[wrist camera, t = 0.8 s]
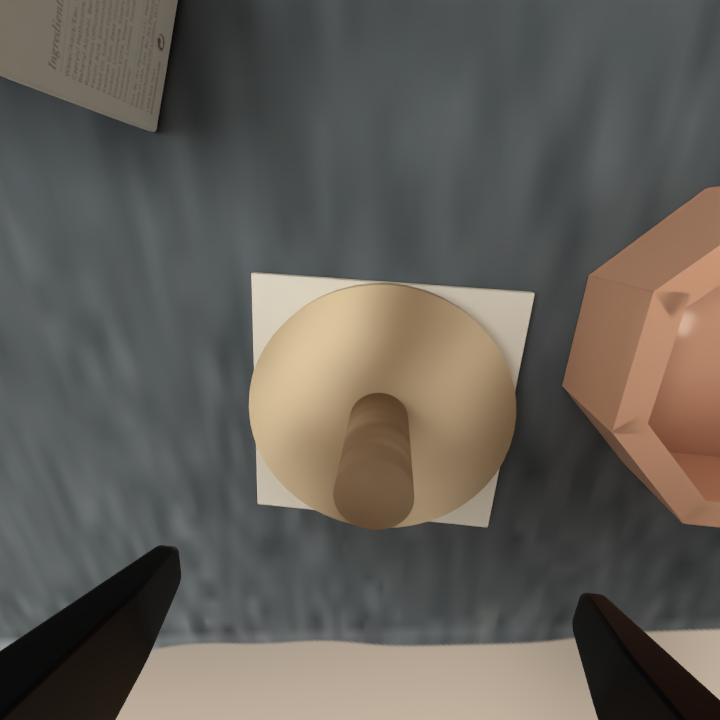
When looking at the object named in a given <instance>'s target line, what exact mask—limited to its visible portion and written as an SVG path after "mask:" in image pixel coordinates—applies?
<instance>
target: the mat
mask: <svg viewBox="0 0 720 720" xmlns="http://www.w3.org/2000/svg"><path fill="white" fill-rule="evenodd" d="M251 278H252V315H253V352H254V370H255V367H256V364H257V361H258V359H259V357H260V355H261V353H262V351H263V349H264V348H265V346H266V344H267V343H268V342H269V340H270V339H271V337H272V336H273V335H274V333H275V332H276V331H277V330H278V329H279V328H280V327H281V326H282V325H283V324H284V323H285V322H286V321H287V320H288V319H289V318H290V317H291V316H292V315H294V314H295V313H296V312H297V311H299V310H300V309H301V308H302V307H304V306H305V305H307V304H308V303H310V302H312V301H313V300H315V299H317V298H319V297H321V296H323V295H325V294H328V293H330V292H333V291H335V290H338V289H342V288H346V287H349V286H353V285H360V284H368V283H393V284H401V285H408V286H412V287H416V288H419V289H423V290H426V291H429V292H431V293H434V294H436V295H438V296H441V297H443V298H445V299H446V300H448V301H450V302H451V303H453V304H455V305H457V306H458V307H460V308H461V309H462V310H463V311H465V312H466V313H467V314H468V315H470V316H471V317H472V318H473V319H474V320H475V321H476V322H477V323H478V324H479V325H480V326H481V327H482V328H483V329H484V330H485V331H486V333H487V334H488V335H489V336H490V337H491V339H492V340H493V342H494V343H495V345H496V346H497V347H498V349H499V350H500V352H501V354H502V356H503V358H504V360H505V362H506V364H507V366H508V369H509V372H510V375H511V378H512V381H513V385H514V391H515V389H516V384H517V379H518V374H519V369H520V364H521V359H522V355H523V350H524V345H525V340H526V335H527V330H528V325H529V320H530V315H531V310H532V305H533V300H534V295H535V293H533V292H528V291H514V290H500V289H485V288H471V287H457V286H443V285H429V284H415V283H401V282H387V281H373V280H359V279H345V278H331V277H317V276H303V275H288V274H274V273H260V272H253V273H251ZM256 463H257V501H258V504H263V505H273V506H283V507H293V508H302V509H312V508H311V507H309V506H308V505H306V504H305V503H303V502H302V501H300V500H299V499H297V498H296V497H295V496H294V495H293V494H292V493H290V492H289V491H288V490H287V489H286V488H285V487H284V486H283V485H282V484H281V483H280V482H279V481H278V480H277V478H276V477H275V476H274V475H273V473H272V472H271V470H270V469H269V468H268V466H267V465H266V463H265V461H264V459H263V457H262V456H261V454H260V452H259V449H258V447H257V444H256ZM499 469H500V468H499ZM499 469H498V471H497V472H496V474H495V475H494V477H493V478H492V479H491V480H490V481H489V483H488V484H487V485H486V486H485V487H484V488H483V489H482V490H481V491H480V492H479V493H478V494H477V495H476V496H475V497H473V498H472V499H471V500H469V501H468V502H467V503H465V504H464V505H462V506H461V507H459V508H457V509H456V510H454V511H452V512H450V513H448V514H446V515H444V516H441V517H439V518H437V519H434V520H431V521H429V522H439V523H449V524H459V525H468V526H478V527H488V523H489V518H490V513H491V509H492V504H493V499H494V494H495V489H496V484H497V479H498V474H499ZM312 510H314V509H312Z"/></svg>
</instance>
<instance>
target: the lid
mask: <svg viewBox="0 0 720 720" xmlns="http://www.w3.org/2000/svg"><path fill="white" fill-rule="evenodd" d="M249 415H250V424H251V428H252V432H253V436H254V439H255V442H256V444H257V447H258V449H259V452H260V454H261V456H262V457H263V459H264V461H265V463H266V465H267V466H268V468H269V469H270V470H271V472H272V473H273V475H274V476H275V477H276V478H277V480H278V481H279V482H280V483H281V484H282V485H283V486H284V487H285V488H286V489H287V490H288V491H289V492H290V493H292V494H293V495H294V496H295V497H296V498H297V499H299V500H300V501H302V502H303V503H305V504H306V505H308V506H309V507H311V508H312V509H314V510H316V511H318V512H320V513H322V514H324V515H326V516H329V517H331V518H334V519H337V520H339V521H343V522H346V523H350V524H353V525H355V526H357V527H360V528H363V529H368V530H383V529H388V528H394V527H405V526H411V525H417V524H421V523H424V522H428V521H431V520H434V519H437V518H439V517H441V516H444V515H446V514H448V513H450V512H452V511H454V510H456V509H457V508H459V507H461V506H462V505H464V504H465V503H467V502H468V501H469V500H471V499H472V498H473V497H475V496H476V495H477V494H478V493H479V492H480V491H481V490H482V489H483V488H484V487H485V486H486V485H487V484H488V483H489V481H490V480H491V479H492V478H493V477H494V475H495V474H496V472H497V471H498V469H499V468H500V466H501V464H502V463H503V461H504V459H505V457H506V454H507V452H508V450H509V448H510V444H511V441H512V437H513V434H514V429H515V421H516V397H515V391H514V385H513V381H512V378H511V375H510V372H509V369H508V366H507V364H506V362H505V360H504V358H503V356H502V354H501V352H500V350H499V349H498V347H497V346H496V345H495V343H494V342H493V340H492V339H491V337H490V336H489V335H488V334H487V333H486V331H485V330H484V329H483V328H482V327H481V326H480V325H479V324H478V323H477V322H476V321H475V320H474V319H473V318H472V317H471V316H470V315H468V314H467V313H466V312H465V311H463V310H462V309H461V308H460V307H458V306H457V305H455V304H453V303H451V302H450V301H448V300H446V299H445V298H443V297H441V296H438V295H436V294H434V293H431V292H429V291H426V290H423V289H419V288H416V287H412V286H408V285H401V284H393V283H368V284H360V285H353V286H349V287H346V288H342V289H338V290H335V291H333V292H330V293H328V294H325V295H323V296H321V297H319V298H317V299H315V300H313V301H312V302H310V303H308V304H307V305H305V306H304V307H302V308H301V309H300V310H299V311H297V312H296V313H295V314H294V315H292V316H291V317H290V318H289V319H288V320H287V321H286V322H285V323H284V324H283V325H282V326H281V327H280V328H279V329H278V330H277V331H276V332H275V333H274V335H273V336H272V337H271V339H270V340H269V342H268V343H267V344H266V346H265V348H264V349H263V351H262V353H261V355H260V357H259V359H258V361H257V364H256V367H255V370H254V373H253V376H252V381H251V386H250V392H249Z"/></svg>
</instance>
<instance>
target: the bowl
mask: <svg viewBox="0 0 720 720" xmlns="http://www.w3.org/2000/svg"><path fill="white" fill-rule="evenodd" d="M562 387H563V388H564V389H565V390H566V391H567V392H568V394H569V395H570V396H571V397H572V399H573V400H574V401H575V403H576V404H577V405H578V406H579V408H580V409H581V410H582V411H583V413H584V414H585V415H586V416H587V418H588V419H589V420H590V421H591V423H592V424H593V425H594V427H595V428H596V429H597V430H598V432H599V433H600V434H601V435H602V437H603V438H604V439H605V440H606V442H607V443H608V444H609V445H610V447H611V448H612V449H613V451H614V452H615V453H616V454H617V456H618V457H619V458H620V460H621V461H622V462H623V463H624V464H625V465H626V466H627V467H628V468H629V469H630V470H631V471H632V472H633V473H634V474H635V475H636V476H637V477H638V478H639V479H640V480H641V481H642V482H643V483H644V484H645V485H646V486H647V487H648V488H649V490H650V491H651V492H652V493H653V494H654V495H655V496H656V497H657V498H658V499H659V500H660V501H661V502H662V503H663V504H664V505H665V506H666V507H667V508H668V509H669V510H670V511H671V512H672V513H673V514H674V515H675V516H676V517H677V518H678V519H679V520H680V521H681V522H682V523H683V524H691V525H701V526H712V527H720V186H719V187H711V188H705V189H704V190H703V191H701V192H700V193H699V194H697V195H696V196H695V197H693V198H692V199H691V200H689V201H688V202H687V203H685V204H684V205H683V206H681V207H680V208H679V209H677V210H676V211H674V212H673V213H672V214H670V215H669V216H668V217H666V218H665V219H664V220H662V221H661V222H660V223H658V224H657V225H656V226H654V227H653V228H652V229H650V230H649V231H648V232H646V233H645V234H643V235H642V236H641V237H639V238H638V239H637V240H635V241H634V242H633V243H631V244H630V245H629V246H627V247H626V248H625V249H623V250H622V251H621V252H619V253H618V254H617V255H615V256H614V257H613V258H611V259H610V260H608V261H607V262H606V263H604V264H603V265H602V266H600V267H599V268H598V269H596V270H595V271H594V272H592V273H591V274H590V275H588V281H587V285H586V289H585V293H584V297H583V301H582V305H581V310H580V314H579V318H578V322H577V326H576V330H575V334H574V339H573V343H572V347H571V351H570V355H569V359H568V363H567V368H566V372H565V376H564V380H563V384H562Z"/></svg>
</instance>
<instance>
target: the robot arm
mask: <svg viewBox="0 0 720 720" xmlns="http://www.w3.org/2000/svg"><path fill="white" fill-rule="evenodd" d="M180 580H181V568H180V559H179V551H178V549H177V548H176V547H173V546H164V545H160V546H157V547H155V548H154V549H152V550H151V551H149V552H148V553H146V554H145V555H143V556H142V557H140V558H139V559H137V560H136V561H134V562H133V563H131V564H130V565H128V566H127V567H125V568H124V569H122V570H121V571H119V572H118V573H116V574H115V575H113V576H112V577H110V578H109V579H107V580H106V581H104V582H103V583H101V584H100V585H99V586H97V587H96V588H94V589H93V590H91V591H90V592H88V593H87V594H85V595H84V596H82V597H81V598H79V599H78V600H76V601H75V602H73V603H72V604H70V605H69V606H67V607H66V608H64V609H63V610H61V611H60V612H58V613H57V614H55V615H54V616H52V617H51V618H49V619H48V620H46V621H45V622H43V623H42V624H40V625H39V626H37V627H36V628H34V629H33V630H31V631H30V632H28V633H27V634H25V635H24V636H22V637H21V638H19V639H18V640H16V641H15V642H13V643H12V644H10V645H9V646H7V647H6V648H4V649H3V650H1V651H0V720H116V718H117V716H118V714H119V712H120V710H121V708H122V706H123V705H124V703H125V701H126V699H127V697H128V695H129V693H130V691H131V690H132V687H133V686H134V684H135V682H136V680H137V678H138V676H139V675H140V673H141V671H142V669H143V667H144V665H145V663H146V661H147V659H148V657H149V654H150V652H151V650H152V648H153V646H154V643H155V641H156V639H157V636H158V634H159V631H160V629H161V627H162V624H163V622H164V620H165V617H166V615H167V613H168V610H169V608H170V605H171V603H172V601H173V598H174V596H175V594H176V591H177V589H178V587H179V584H180ZM573 632H574V636H575V640H576V643H577V647H578V650H579V654H580V657H581V661H582V665H583V668H584V672H585V675H586V679H587V683H588V686H589V690H590V693H591V697H592V700H593V704H594V707H595V710H596V714H597V717H598V720H720V700H719V699H718V698H717V697H715V696H714V695H713V694H712V693H711V692H710V691H709V690H708V689H707V688H706V687H705V686H703V685H702V684H701V683H700V682H699V681H698V680H697V679H696V678H694V677H693V676H692V675H691V674H690V673H689V672H688V671H687V670H686V669H685V668H684V667H682V666H681V665H680V664H679V663H678V662H677V661H676V660H674V658H672V657H671V656H670V655H669V654H668V653H667V652H666V651H665V650H664V649H663V648H661V647H660V646H659V645H658V644H657V643H656V642H655V641H654V640H653V639H651V638H650V637H649V636H648V635H647V634H646V633H645V632H644V631H643V630H642V629H640V628H639V627H638V626H637V625H636V624H635V623H634V622H633V621H632V620H630V619H629V618H628V617H627V616H626V615H625V614H624V613H623V612H622V611H621V610H619V609H618V608H617V607H616V606H615V605H614V604H613V603H612V602H611V601H609V600H608V599H607V598H606V597H605V596H603V595H600V594H592V593H583V594H582V595H581V596H580V598H579V602H578V605H577V608H576V611H575V614H574V617H573Z"/></svg>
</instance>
